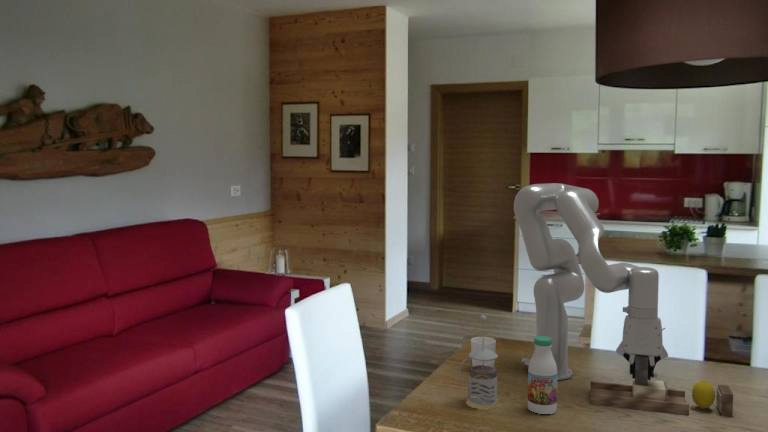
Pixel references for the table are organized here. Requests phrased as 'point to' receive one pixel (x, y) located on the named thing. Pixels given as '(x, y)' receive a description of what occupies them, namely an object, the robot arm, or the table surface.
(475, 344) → the translucent flanged cylinder
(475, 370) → the french press
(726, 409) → the open brown box
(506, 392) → the table surface
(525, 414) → the table surface
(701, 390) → the lemon
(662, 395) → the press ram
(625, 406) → the press bed
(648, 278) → the robot arm
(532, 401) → the milk bottle
